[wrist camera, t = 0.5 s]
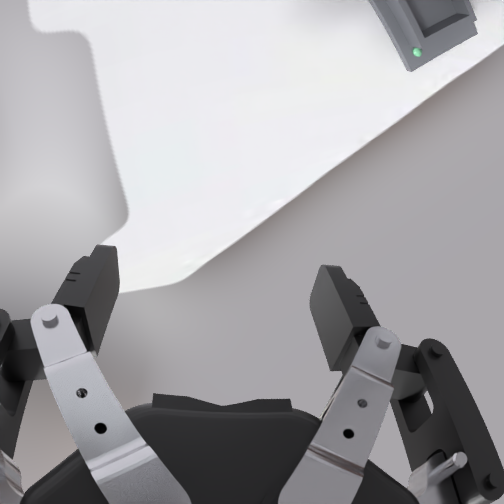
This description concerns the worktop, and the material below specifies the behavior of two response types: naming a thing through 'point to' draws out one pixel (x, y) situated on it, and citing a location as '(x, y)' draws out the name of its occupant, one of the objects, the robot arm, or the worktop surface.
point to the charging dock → (425, 27)
